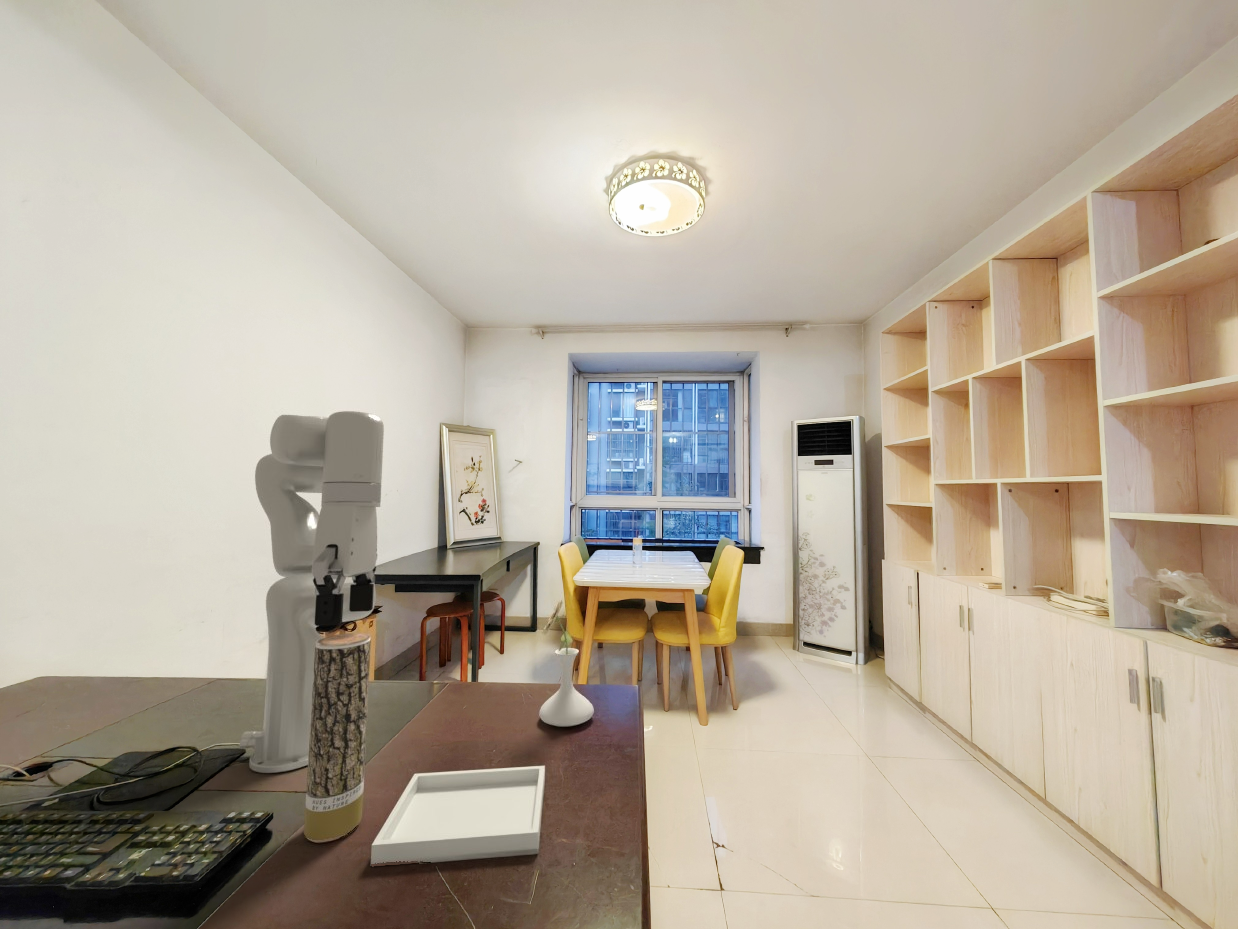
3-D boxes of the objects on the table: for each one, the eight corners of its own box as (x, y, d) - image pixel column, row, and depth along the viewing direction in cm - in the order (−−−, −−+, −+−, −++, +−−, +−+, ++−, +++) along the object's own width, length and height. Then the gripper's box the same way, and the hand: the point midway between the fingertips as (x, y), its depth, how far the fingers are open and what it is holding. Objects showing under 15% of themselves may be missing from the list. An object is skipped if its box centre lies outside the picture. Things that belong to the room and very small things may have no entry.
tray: (370, 867, 57) (371, 845, 57) (413, 791, 73) (414, 773, 73) (538, 853, 59) (538, 832, 59) (544, 782, 75) (544, 765, 75)
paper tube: (372, 821, 65) (381, 635, 68) (324, 852, 59) (336, 647, 62) (340, 808, 68) (350, 631, 71) (291, 837, 62) (304, 642, 65)
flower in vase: (553, 706, 105) (554, 591, 107) (601, 712, 101) (601, 593, 104) (524, 732, 92) (526, 601, 95) (578, 740, 89) (578, 604, 92)
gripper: (352, 499, 77) (346, 607, 75) (289, 493, 60) (280, 633, 58) (399, 499, 78) (395, 605, 76) (352, 493, 60) (344, 630, 58)
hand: (345, 617), depth 67 cm, fingers open, 9 cm apart
